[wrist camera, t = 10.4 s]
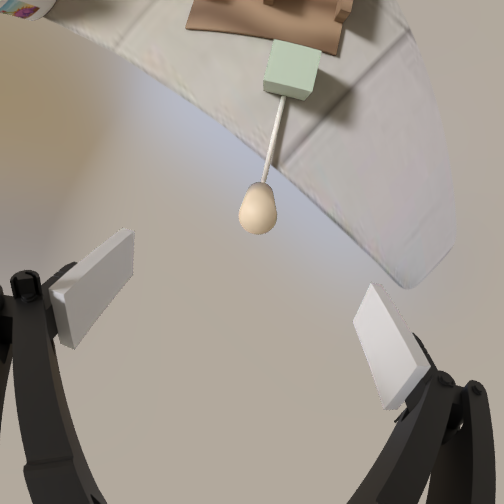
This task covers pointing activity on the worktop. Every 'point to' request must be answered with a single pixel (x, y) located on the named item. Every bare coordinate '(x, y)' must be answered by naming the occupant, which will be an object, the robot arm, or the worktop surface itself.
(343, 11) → the lane shelf
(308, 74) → the green headed mallet
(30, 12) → the milk bottle
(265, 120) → the worktop surface
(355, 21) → the worktop surface
